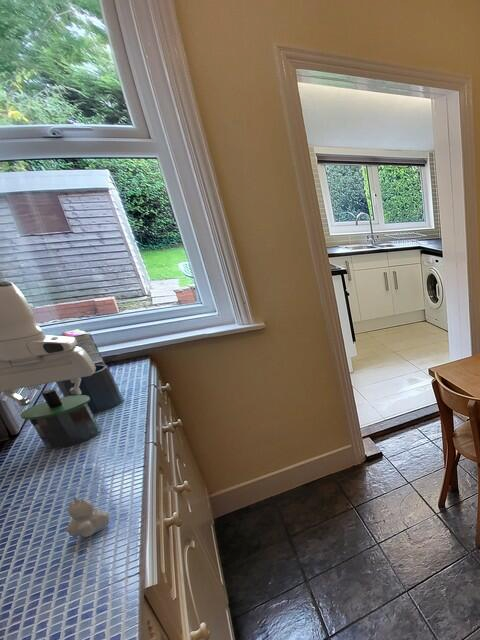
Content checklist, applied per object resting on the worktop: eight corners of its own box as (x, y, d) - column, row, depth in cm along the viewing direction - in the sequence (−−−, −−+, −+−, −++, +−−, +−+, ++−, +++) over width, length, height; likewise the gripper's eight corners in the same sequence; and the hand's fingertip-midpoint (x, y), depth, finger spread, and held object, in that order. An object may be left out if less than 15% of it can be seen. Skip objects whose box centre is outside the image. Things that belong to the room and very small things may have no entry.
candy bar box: (82, 375, 151) (60, 332, 144) (100, 370, 155) (79, 328, 148) (93, 380, 145) (71, 336, 139) (111, 375, 149) (90, 332, 142)
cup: (39, 453, 101) (20, 422, 98) (53, 435, 109) (35, 406, 106) (95, 440, 106) (78, 409, 103) (104, 424, 114) (89, 395, 111)
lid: (14, 427, 97) (1, 407, 95) (33, 407, 106) (22, 389, 104) (84, 412, 103) (74, 393, 101) (96, 394, 112) (87, 377, 110)
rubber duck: (115, 516, 79) (96, 482, 76) (112, 535, 74) (91, 500, 71) (76, 529, 76) (55, 495, 73) (70, 551, 71) (47, 515, 68)
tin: (68, 419, 118) (48, 382, 114) (79, 404, 127) (60, 370, 122) (119, 407, 124) (102, 372, 119) (126, 394, 133) (110, 361, 128)
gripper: (-50, 361, 90) (-14, 416, 96) (76, 342, 100) (101, 393, 106) (-36, 353, 95) (-3, 406, 101) (83, 336, 105) (107, 385, 111)
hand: (51, 399), depth 103 cm, fingers open, 8 cm apart
